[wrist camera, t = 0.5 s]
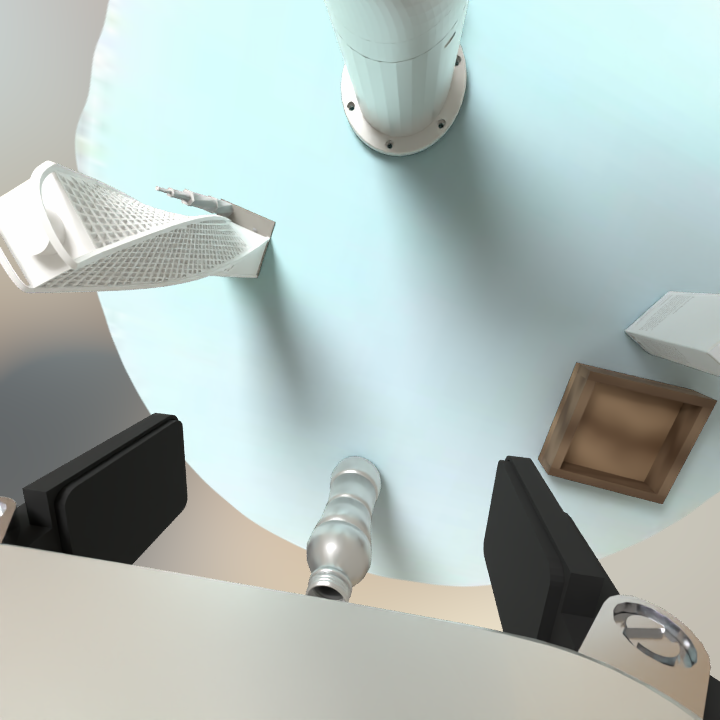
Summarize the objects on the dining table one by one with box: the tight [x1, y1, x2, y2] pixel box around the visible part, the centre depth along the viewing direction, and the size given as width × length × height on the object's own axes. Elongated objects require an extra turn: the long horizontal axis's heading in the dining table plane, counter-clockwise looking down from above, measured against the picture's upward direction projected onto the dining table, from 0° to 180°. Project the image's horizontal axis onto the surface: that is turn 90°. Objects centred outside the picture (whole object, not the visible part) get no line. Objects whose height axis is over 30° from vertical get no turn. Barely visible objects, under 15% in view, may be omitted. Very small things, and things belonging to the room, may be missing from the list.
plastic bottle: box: [306, 456, 381, 603], centre depth 40 cm, size 6×7×20 cm
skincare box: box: [625, 291, 720, 377], centre depth 34 cm, size 6×4×12 cm
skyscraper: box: [0, 161, 275, 293], centre depth 31 cm, size 8×8×28 cm
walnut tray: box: [538, 362, 717, 504], centre depth 42 cm, size 13×13×4 cm
